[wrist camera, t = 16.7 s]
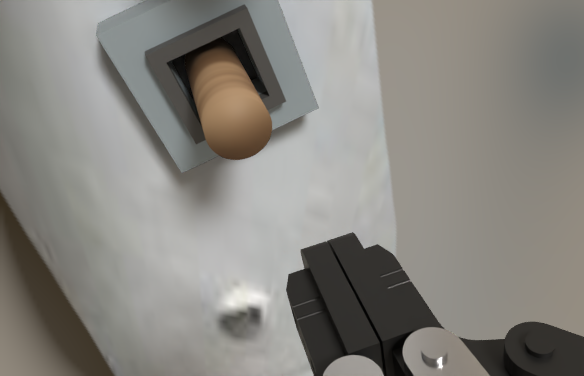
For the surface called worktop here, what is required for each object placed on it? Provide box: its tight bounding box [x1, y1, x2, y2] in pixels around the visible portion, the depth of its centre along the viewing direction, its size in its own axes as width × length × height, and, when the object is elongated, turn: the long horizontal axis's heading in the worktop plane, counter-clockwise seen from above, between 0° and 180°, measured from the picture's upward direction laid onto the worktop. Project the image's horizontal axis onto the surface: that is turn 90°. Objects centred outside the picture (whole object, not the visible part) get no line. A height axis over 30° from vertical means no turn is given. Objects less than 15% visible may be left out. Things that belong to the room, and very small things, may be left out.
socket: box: [96, 0, 319, 173], centre depth 38 cm, size 12×12×4 cm
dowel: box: [184, 38, 272, 160], centre depth 35 cm, size 4×4×12 cm
